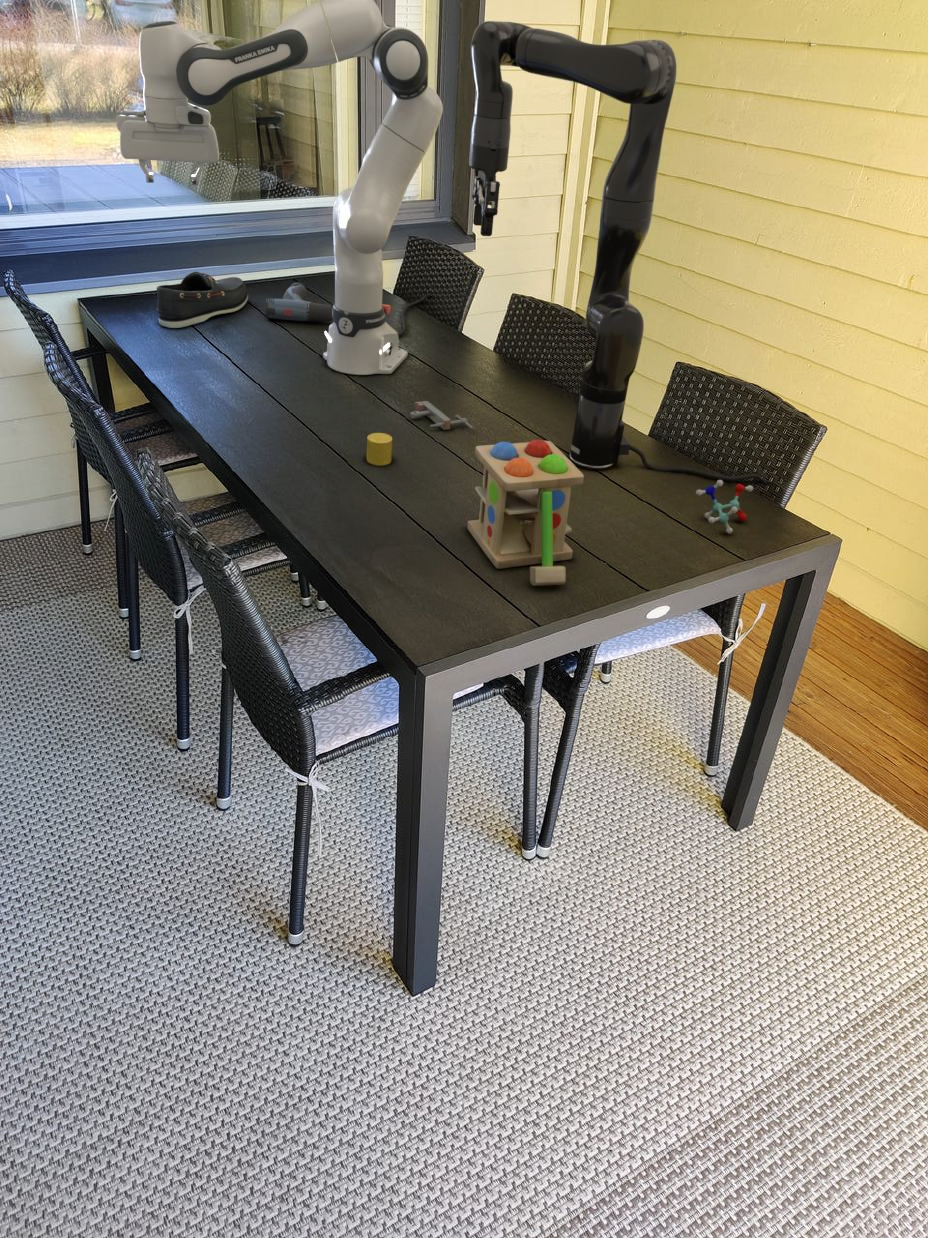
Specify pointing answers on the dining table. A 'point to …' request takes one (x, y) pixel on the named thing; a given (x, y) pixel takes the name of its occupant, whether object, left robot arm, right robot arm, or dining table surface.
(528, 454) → the pounding bench toy
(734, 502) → the molecular model
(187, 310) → the boat shoe
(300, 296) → the power drill
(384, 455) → the yellow cylinder
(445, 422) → the clamp
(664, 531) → the dining table surface
